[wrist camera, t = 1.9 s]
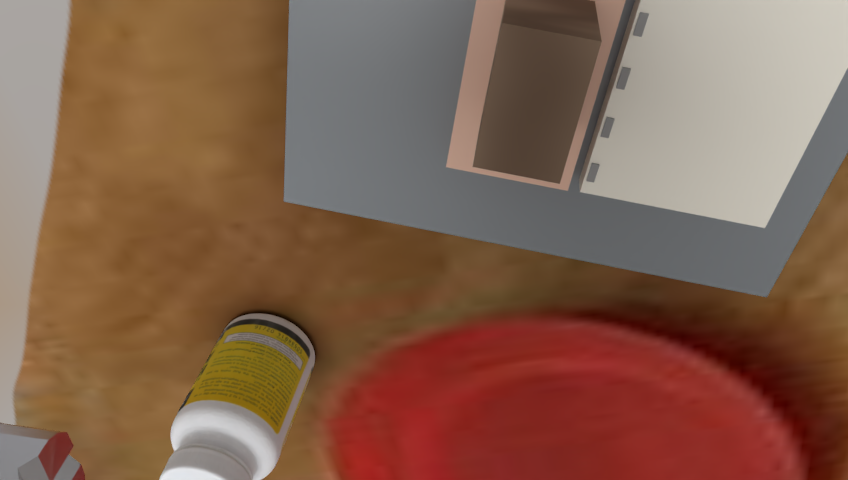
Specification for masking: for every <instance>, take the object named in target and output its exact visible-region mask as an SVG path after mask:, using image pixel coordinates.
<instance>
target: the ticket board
mask: <svg viewBox="0 0 848 480" xmlns="http://www.w3.org/2000/svg"><path fill="white" fill-rule="evenodd" d="M475 4H476V0H289V31H288V67H287V103H286V138H285V174H284V202H289V203H294V204H299V205H304V206H309V207H314V208H319V209H324V210H329V211H334V212H339V213H344V214H349V215H354V216H359V217H364V218H369V219H375V220H380V221H385V222H390V223H395V224H400V225H405V226H410V227H415V228H420V229H425V230H430V231H435V232H440V233H445V234H450V235H455V236H460V237H465V238H470V239H475V240H480V241H485V242H490V243H495V244H500V245H506V246H511V247H516V248H521V249H526V250H531V251H536V252H541V253H546V254H551V255H556V256H561V257H566V258H571V259H576V260H581V261H586V262H591V263H596V264H601V265H606V266H611V267H616V268H621V269H626V270H631V271H637V272H642V273H647V274H652V275H657V276H662V277H667V278H672V279H677V280H682V281H687V282H692V283H697V284H702V285H707V286H712V287H717V288H722V289H727V290H732V291H737V292H742V293H747V294H752V295H757V296H763V297H767V296H768V295H769V293H770V291H771V289H772V287H773V286H774V284H775V282H776V280H777V278H778V277H779V275H780V273H781V271H782V269H783V268H784V266H785V264H786V262H787V260H788V259H789V257H790V255H791V253H792V251H793V250H794V248H795V246H796V244H797V242H798V241H799V239H800V237H801V235H802V233H803V232H804V230H805V228H806V226H807V224H808V223H809V221H810V219H811V217H812V215H813V214H814V212H815V210H816V208H817V206H818V205H819V203H820V201H821V199H822V197H823V196H824V194H825V192H826V190H827V188H828V187H829V185H830V183H831V181H832V180H833V178H834V176H835V174H836V172H837V171H838V169H839V167H840V165H841V163H842V162H843V160H844V158H845V156H846V154H847V153H848V0H626V1H625V4H624V8H623V11H622V14H621V18H620V21H619V24H618V27H617V31H616V34H615V37H614V41H613V44H612V47H611V50H610V54H609V57H608V60H607V64H606V67H605V70H604V73H603V77H602V80H601V83H600V87H599V90H598V93H597V96H596V100H595V103H594V106H593V109H592V113H591V116H590V119H589V123H588V126H587V129H586V132H585V136H584V139H583V142H582V146H581V149H580V152H579V155H578V159H577V162H576V165H575V169H574V172H573V175H572V178H571V182H570V185H569V188H568V191H566V190H560V189H555V188H550V187H545V186H540V185H535V184H530V183H525V182H519V181H514V180H509V179H504V178H499V177H494V176H489V175H484V174H478V173H473V172H468V171H463V170H458V169H453V168H448V167H446V164H447V159H448V153H449V148H450V142H451V137H452V131H453V126H454V120H455V114H456V109H457V103H458V98H459V92H460V87H461V81H462V76H463V70H464V65H465V59H466V54H467V48H468V43H469V37H470V32H471V26H472V21H473V15H474V10H475Z"/></svg>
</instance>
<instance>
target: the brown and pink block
mask: <svg viewBox="0 0 848 480" xmlns="http://www.w3.org/2000/svg"><path fill="white" fill-rule="evenodd" d="M625 1H626V0H476V4H475V10H474V15H473V21H472V26H471V32H470V37H469V43H468V48H467V54H466V59H465V65H464V70H463V76H462V81H461V87H460V92H459V98H458V103H457V109H456V114H455V120H454V126H453V131H452V137H451V142H450V148H449V153H448V159H447V164H446V167H448V168H453V169H458V170H463V171H468V172H473V173H478V174H484V175H489V176H494V177H499V178H504V179H509V180H514V181H519V182H525V183H530V184H535V185H540V186H545V187H550V188H555V189H560V190H566V191H568V188H569V185H570V182H571V178H572V175H573V172H574V169H575V165H576V162H577V159H578V155H579V152H580V149H581V146H582V142H583V139H584V136H585V132H586V129H587V126H588V123H589V119H590V116H591V113H592V109H593V106H594V103H595V100H596V96H597V93H598V90H599V87H600V83H601V80H602V77H603V73H604V70H605V67H606V64H607V60H608V57H609V54H610V50H611V47H612V44H613V41H614V37H615V34H616V31H617V27H618V24H619V21H620V18H621V14H622V11H623V8H624V4H625Z"/></svg>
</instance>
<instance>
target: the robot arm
mask: <svg viewBox="0 0 848 480" xmlns="http://www.w3.org/2000/svg"><path fill="white" fill-rule="evenodd" d="M72 448H73V444H72V442H71V440H70V438H69V435H68V433H67V432H61V431H54V430H46V429H39V428H32V427H25V426H18V425H10V424H4V423H0V480H85V474H84V471H83V469H82V466H81V464H80V463H79V462H77V461H76V460H75V459H74V458H72V457H71V456H70V455H69V453H70V451H71V449H72Z"/></svg>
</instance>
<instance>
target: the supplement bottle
mask: <svg viewBox="0 0 848 480" xmlns="http://www.w3.org/2000/svg"><path fill="white" fill-rule="evenodd" d="M314 364H315V352H314V349H313V346H312V344H311V342H310V340H309V339H308V337H307V336H306V335H305V334H304V333H303V331H302V330H300V329H299V328H298V327H297V326H296V325H294V324H293V323H291V322H289V321H287V320H285V319H283V318H280V317H278V316H274V315H270V314H263V313H254V314H247V315H243V316H240V317H238V318H236V319H234V320H233V321H231V322H230V323H229V324H228V325H227V327H226V328H225V329H224V331H223V332H222V334H221V336H220V338H219V339H218V341H217V343H216V345H215V347H214V348H213V350H212V352H211V354H210V356H209V357H208V359H207V361H206V363H205V365H204V366H203V368H202V370H201V372H200V374H199V376H198V377H197V379H196V381H195V383H194V385H193V387H192V388H191V390H190V392H189V394H188V395H187V397H186V399H185V401H184V402H183V404H182V406H181V407H180V409H179V411H178V414H177V415H176V418H175V420H174V422H173V424H172V428H171V443H172V446H173V449H174V453H173V454H172V455H171V457H170V458H169V460H168V463H167V465H166V467H165V468H164V470H163V472H162V474H161V476H160V479H159V480H261V479H263V478H264V477H266V476H267V475H268V474H269V473H270V472H271V471H272V470H273V469H274V467H275V465H276V463H277V461H278V459H279V457H280V454H281V451H282V449H283V446H284V443H285V441H286V438H287V435H288V433H289V430H290V428H291V425H292V423H293V420H294V417H295V415H296V413H297V410H298V407H299V404H300V402H301V399H302V397H303V394H304V392H305V389H306V387H307V384H308V381H309V379H310V376H311V374H312V371H313V367H314Z"/></svg>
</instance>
